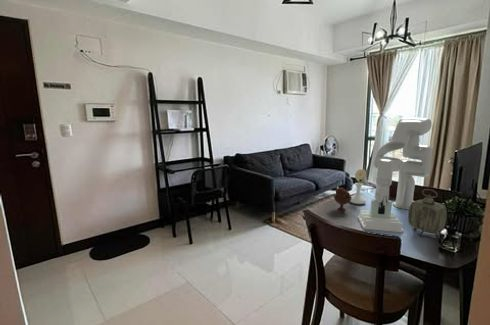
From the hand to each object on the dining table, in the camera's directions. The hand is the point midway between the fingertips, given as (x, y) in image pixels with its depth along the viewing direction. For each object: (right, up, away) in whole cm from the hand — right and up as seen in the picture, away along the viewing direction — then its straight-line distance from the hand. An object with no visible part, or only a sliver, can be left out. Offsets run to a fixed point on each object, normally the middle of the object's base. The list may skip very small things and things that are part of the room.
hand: (380, 212), depth 148 cm
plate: (0, -5, +1) cm, 5 cm away
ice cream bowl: (-13, -3, +24) cm, 27 cm away
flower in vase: (+3, 0, +36) cm, 36 cm away
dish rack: (0, -7, +2) cm, 7 cm away
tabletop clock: (+17, -10, -11) cm, 22 cm away
